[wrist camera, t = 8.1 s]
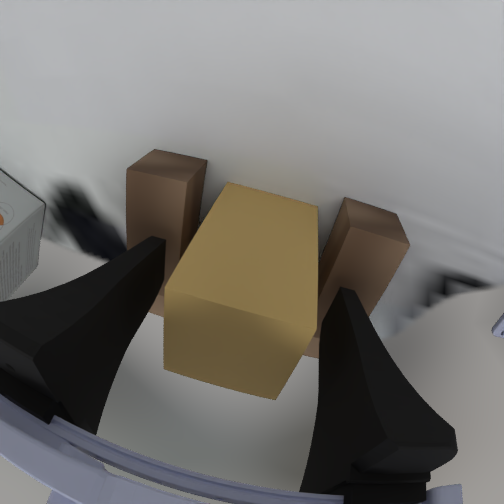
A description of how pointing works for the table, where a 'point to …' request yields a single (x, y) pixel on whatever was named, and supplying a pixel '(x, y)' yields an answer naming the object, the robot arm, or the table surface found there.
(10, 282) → the small box
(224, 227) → the ochre block
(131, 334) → the robot arm
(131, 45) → the table surface
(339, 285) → the notched board
